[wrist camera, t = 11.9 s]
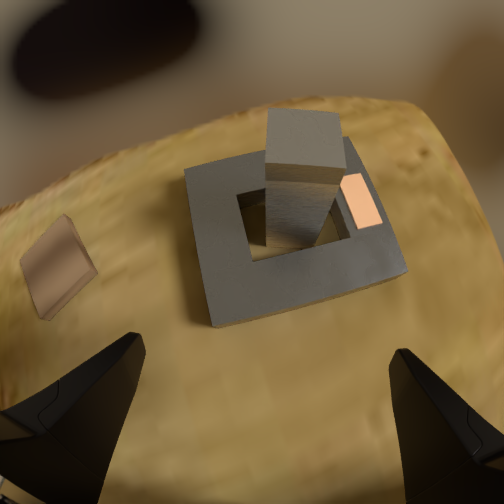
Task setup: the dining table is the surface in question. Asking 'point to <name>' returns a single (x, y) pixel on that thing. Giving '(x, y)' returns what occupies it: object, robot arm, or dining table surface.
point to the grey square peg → (301, 174)
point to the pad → (57, 267)
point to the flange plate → (292, 264)
